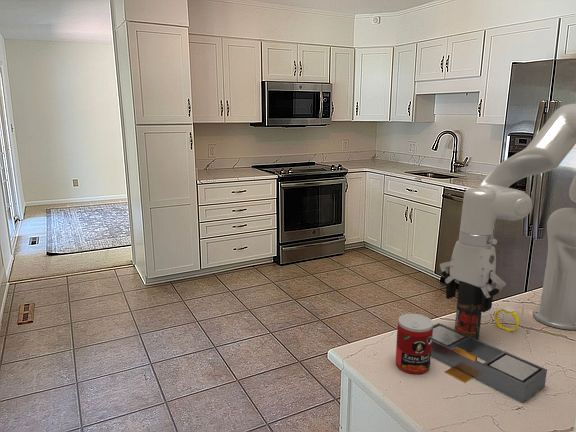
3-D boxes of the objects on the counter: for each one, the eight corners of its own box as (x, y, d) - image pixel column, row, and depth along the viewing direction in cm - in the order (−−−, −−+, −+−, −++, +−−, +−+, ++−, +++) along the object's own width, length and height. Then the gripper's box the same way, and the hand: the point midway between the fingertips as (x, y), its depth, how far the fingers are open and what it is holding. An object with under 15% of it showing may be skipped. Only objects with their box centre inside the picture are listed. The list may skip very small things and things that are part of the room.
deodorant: (449, 332, 116) (454, 279, 113) (467, 329, 118) (473, 276, 115) (464, 343, 111) (470, 287, 107) (484, 339, 112) (490, 284, 109)
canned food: (399, 375, 97) (402, 329, 95) (391, 355, 105) (394, 313, 103) (434, 375, 97) (438, 329, 95) (424, 355, 105) (427, 313, 103)
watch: (518, 332, 117) (523, 312, 115) (513, 335, 115) (518, 315, 113) (496, 322, 121) (500, 303, 120) (491, 325, 120) (495, 306, 118)
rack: (437, 336, 114) (438, 319, 113) (544, 386, 93) (547, 365, 92) (406, 351, 107) (407, 333, 106) (514, 409, 86) (517, 386, 85)
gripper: (518, 245, 104) (508, 312, 107) (453, 229, 117) (446, 289, 121) (501, 250, 99) (491, 320, 103) (435, 233, 113) (429, 295, 117)
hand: (467, 303), depth 112 cm, fingers open, 9 cm apart
